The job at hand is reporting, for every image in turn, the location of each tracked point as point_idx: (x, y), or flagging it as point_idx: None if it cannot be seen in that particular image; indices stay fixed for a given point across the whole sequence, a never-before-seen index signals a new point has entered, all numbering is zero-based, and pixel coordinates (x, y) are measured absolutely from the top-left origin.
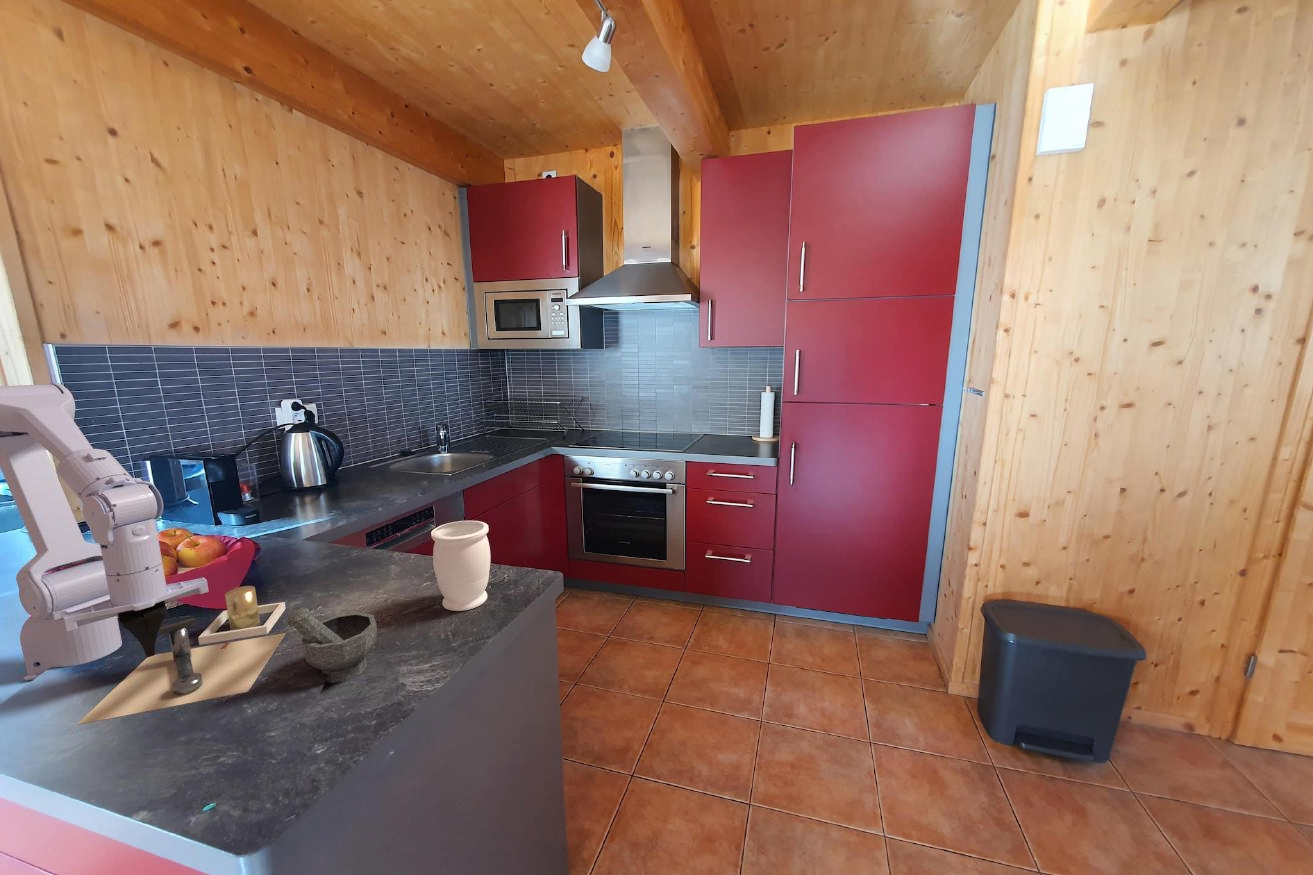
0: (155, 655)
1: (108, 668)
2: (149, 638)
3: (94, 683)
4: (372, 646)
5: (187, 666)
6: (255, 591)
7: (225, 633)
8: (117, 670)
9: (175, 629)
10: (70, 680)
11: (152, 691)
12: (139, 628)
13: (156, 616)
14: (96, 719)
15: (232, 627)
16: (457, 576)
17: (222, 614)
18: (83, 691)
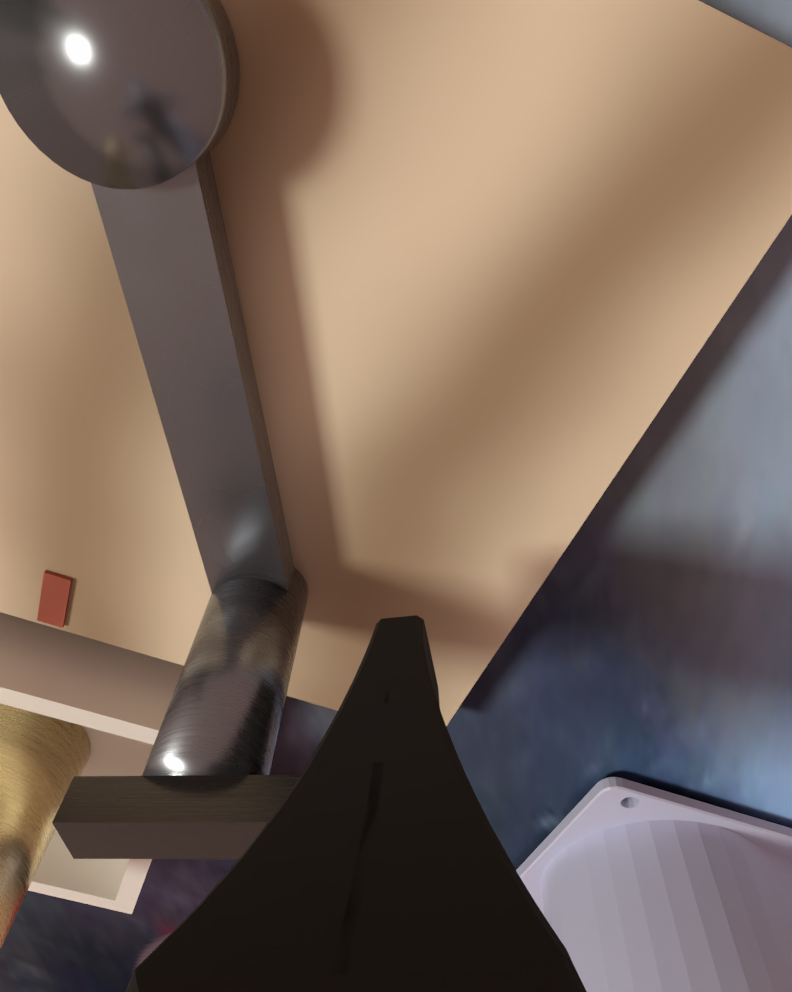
0: None
1: (598, 761)
2: (372, 740)
3: (662, 669)
4: None
5: (184, 403)
6: None
7: (45, 696)
8: (568, 722)
9: (207, 784)
10: (736, 757)
11: (400, 258)
12: (423, 872)
13: (218, 982)
14: (754, 57)
15: (49, 753)
16: None
17: (127, 887)
18: (712, 626)
